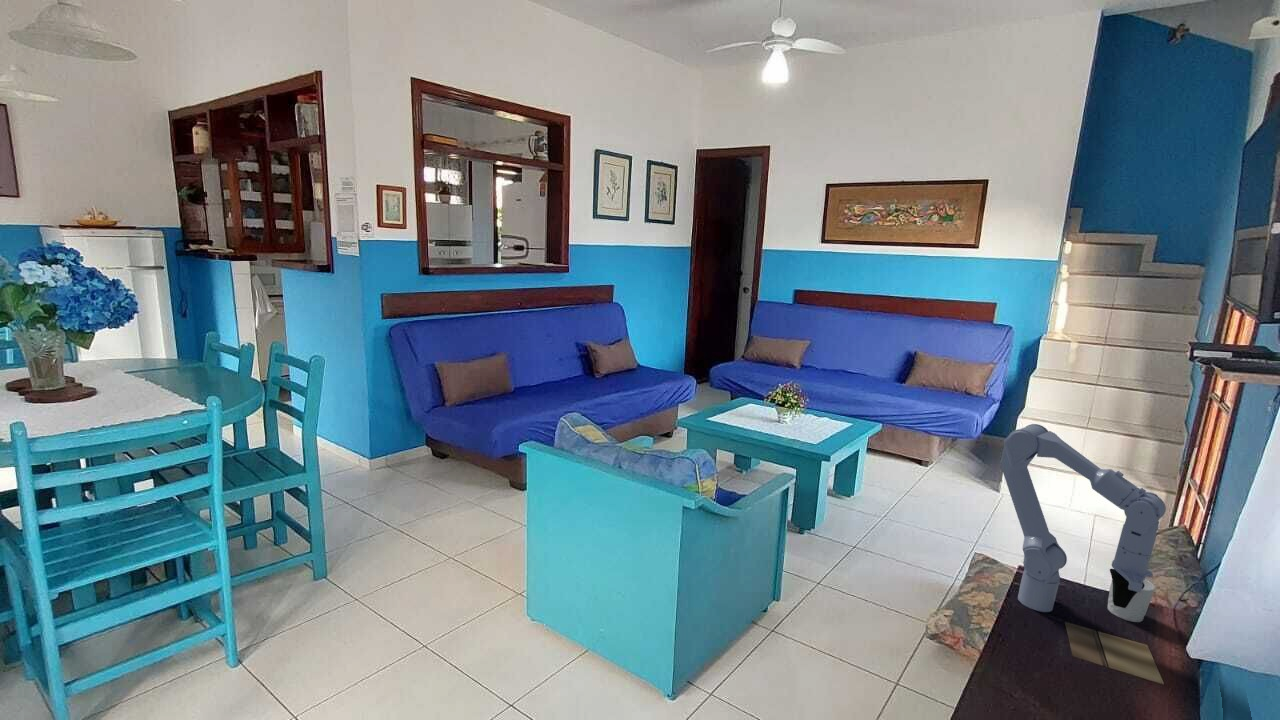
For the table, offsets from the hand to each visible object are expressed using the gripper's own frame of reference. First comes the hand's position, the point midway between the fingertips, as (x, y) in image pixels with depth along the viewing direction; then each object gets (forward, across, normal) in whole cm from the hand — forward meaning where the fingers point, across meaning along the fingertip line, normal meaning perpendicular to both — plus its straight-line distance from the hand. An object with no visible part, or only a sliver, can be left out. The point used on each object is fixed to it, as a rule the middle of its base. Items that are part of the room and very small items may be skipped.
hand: (1119, 605), depth 140 cm
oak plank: (+9, -6, -2) cm, 11 cm away
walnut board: (+9, -6, +6) cm, 12 cm away
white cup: (+10, +14, -5) cm, 18 cm away
